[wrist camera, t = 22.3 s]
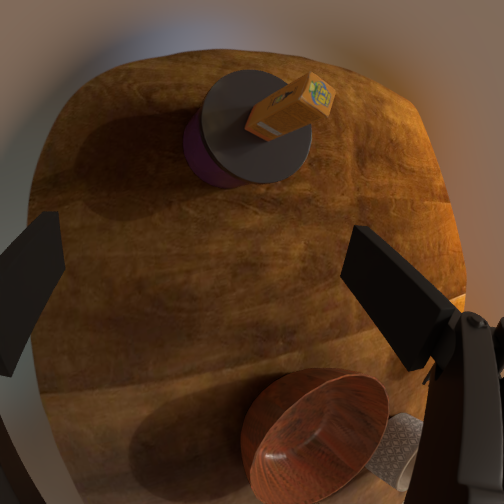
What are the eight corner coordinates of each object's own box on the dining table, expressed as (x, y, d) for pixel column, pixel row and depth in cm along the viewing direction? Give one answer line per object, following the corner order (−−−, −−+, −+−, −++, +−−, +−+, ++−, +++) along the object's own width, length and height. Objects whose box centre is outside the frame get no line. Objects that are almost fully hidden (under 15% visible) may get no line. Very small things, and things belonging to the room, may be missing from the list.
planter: (351, 451, 58) (390, 479, 46) (400, 398, 63) (441, 418, 51) (369, 475, 63) (403, 498, 51) (411, 429, 68) (446, 448, 56)
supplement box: (270, 144, 33) (329, 120, 24) (242, 129, 31) (295, 97, 22) (280, 119, 33) (338, 89, 24) (253, 104, 32) (307, 67, 23)
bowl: (303, 316, 49) (353, 337, 38) (363, 396, 57) (404, 419, 47) (185, 429, 42) (210, 477, 31) (274, 485, 50) (306, 521, 40)
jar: (170, 182, 39) (190, 168, 29) (189, 89, 38) (214, 54, 29) (263, 200, 44) (305, 194, 35) (275, 114, 44) (316, 92, 35)
